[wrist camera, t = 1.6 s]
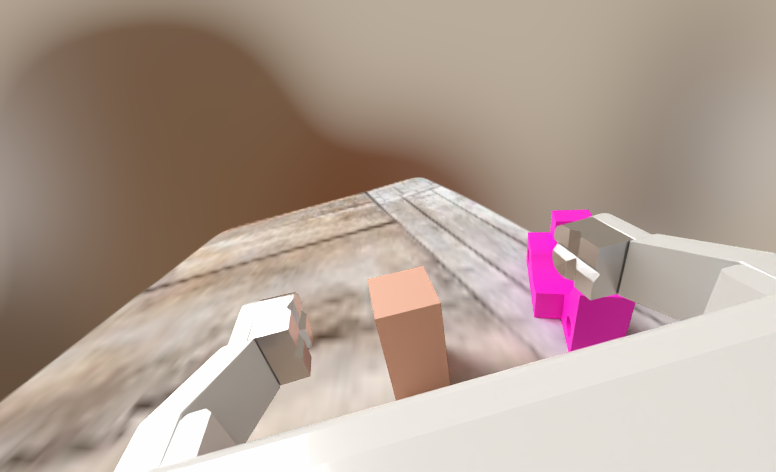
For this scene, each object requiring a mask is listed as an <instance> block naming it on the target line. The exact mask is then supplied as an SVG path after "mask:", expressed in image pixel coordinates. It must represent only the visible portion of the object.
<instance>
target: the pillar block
mask: <svg viewBox="0 0 776 472" xmlns="http://www.w3.org/2000/svg"><path fill="white" fill-rule="evenodd" d="M367 280H368V285H369V291H370V296H371V301H372V307H373V312H374V318H375V322H376V326H377V330H378V333H379V337H380V341H381V345H382V349H383V352H384V356H385V360H386V364H387V368H388V372H389V375H390V379H391V383H392V387H393V391H394V394H395V398H396V400H400V399H404V398H407V397H411V396H414V395H418V394H421V393H425V392H428V391H432V390H436V389H439V388H443V387H446V386H450V378H449V369H448V361H447V352H446V344H445V335H444V326H443V318H442V309H441V302H440V300H439V298H438V296H437V294H436V292H435V290H434V288H433V286H432V284H431V282H430V279H429V277H428V275H427V273H426V271H425V269H424V267H423V266H420V267H416V268H412V269H408V270H404V271H400V272H396V273H392V274H388V275H383V276H379V277H375V278H371V279H367Z"/></svg>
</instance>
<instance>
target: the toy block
mask: <svg viewBox="0 0 776 472" xmlns="http://www.w3.org/2000/svg"><path fill="white" fill-rule="evenodd" d="M591 216H592V215H591V213H590V211H589V210H558V211H552V219H551V220H552V221H551V229H550V230H551V231H550V232H545V233H544V232H539V233H528V243H527V260H526V261H527V268H528V275H529V282H530V289H531V297H532V304H533V311H534V317H537V318H551V319H561V322H562V326H563V330H564V335H565V339H566V343H567V348H568V352H571V351H574V350H578V349H582V348H585V347H589V346H592V345H596V344H599V343H603V342H607V341H610V340H614V339H617V338H621V337H625V336H626V334H627V330H628V327H629V323H630V320H631V316H632V313H633V309H634V306H635V302H634V301H631V300H629V299H626V298H624V297H621V296H619V295H618V294H615V295H611V296H607V297H602V298H598V299H594V300H589V299H588V298H587V297H586V296H584V295H583V294H582V293H581V292H580V291H579V290H578V289H576V288H575V287H574V281H572V280H569V279H566V278H564V277H563V276H562V275H560V274H559V273H558V271H557V270H556V268H555V266H554V263H553V260H552V256H553V249H554V248H555V246H556V245H557V244H558V243H557V241H556V240H555V239H554V232H555V229H556V227H557V226H559V225H563V224H567V223H571V222H574V221H578V220H582V219H586V218H588V217H591Z"/></svg>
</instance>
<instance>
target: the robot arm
mask: <svg viewBox="0 0 776 472" xmlns="http://www.w3.org/2000/svg"><path fill="white" fill-rule="evenodd" d="M554 239H555V240H556V241H557V243H558V244H557V245H556V246H555V248H554V249H553V256H552V260H553V263H554V266H555V268H556V270H557V271H558V273H559V274H560V275H562V276H563V277H564V278H566V279H569V280H572V281H574V287H575V288H576V289H578V290H579V291H580V292H581V293H582V294H583V295H584V296H586V297H587V298H588V299H589V300H594V299H598V298H602V297H607V296H611V295H615V294H618V295H619V296H621V297H624V298H626V299H629V300H631V301H634V302H636V303H638V304H641V305H643V306H646V307H648V308H651V309H653V310H656V311H658V312H661V313H663V314H665V315H668V316H670V317H673V318H675V319H678V320H680V321H678V322H674V323H671V324H667V325H664V326H660V327H657V328H653V329H650V330H646V331H642V332H639V333H635V334H632V335H628V336H625V337H621V338H617V339H614V340H610V341H607V342H603V343H599V344H596V345H592V346H589V347H585V348H582V349H578V350H574V351H571V352H567V353H564V354H560V355H557V356H553V357H549V358H546V359H542V360H539V361H535V362H532V363H528V364H525V365H521V366H517V367H514V368H510V369H507V370H503V371H500V372H496V373H493V374H489V375H485V376H482V377H478V378H475V379H471V380H468V381H464V382H460V383H457V384H453V385H450V386H446V387H443V388H439V389H436V390H432V391H428V392H425V393H421V394H418V395H414V396H411V397H407V398H404V399H400V400H396V401H393V402H389V403H386V404H382V405H379V406H375V407H372V408H368V409H364V410H361V411H357V412H354V413H350V414H347V415H343V416H339V417H336V418H332V419H329V420H325V421H322V422H318V423H315V424H311V425H307V426H304V427H300V428H297V429H293V430H290V431H286V432H282V433H279V434H275V435H272V436H268V437H265V438H261V439H258V440H254V441H250V442H247V443H246V441H247V440H248V438H249V436H250V435H251V433H252V432H253V430H254V428H255V427H256V425H257V424H258V422H259V420H260V419H261V417H262V416H263V414H264V412H265V411H266V409H267V408H268V406H269V404H270V403H271V401H272V400H273V398H274V396H275V395H276V393H277V392H278V390H279V388H280V385H283V384H286V383H290V382H293V381H296V380H300V379H303V378H306V377H310V371H311V355H310V353H309V350H308V349H309V348H310V347H311V345H312V330H311V325H310V321H309V318H308V316H307V314H306V313H304V312H303V311H301V307H302V302H301V299H300V297H299V295H298V294H297V293H296V292H293V293H289V294H285V295H280V296H276V297H272V298H267V299H263V300H259V301H255V302H251V303H247V304H245V305H243V306H242V308H241V310H240V313H239V316H238V319H237V321H236V324H235V327H234V329H233V332H232V335H231V337H230V340H229V343H228V345H227V346H225V347H222V348H221V349H219V350H218V351H217V352H216V353H215V354H214V355H213V356H212V357H211V358H210V359H209V360H208V361H207V362H206V363H205V364H204V365H202V366H201V367H200V368H199V369H198V370H197V371H196V372H195V373H194V374H193V375H192V376H191V377H190V378H189V379H188V380H187V381H186V382H184V383H183V384H182V385H181V386H180V387H179V388H178V389H177V390H176V391H175V392H174V393H173V394H172V395H171V396H170V397H169V398H167V399H166V400H165V401H164V402H163V403H162V404H161V405H160V406H159V407H158V408H157V409H156V410H155V411H154V412H153V413H152V414H150V415H149V416H148V417H147V418H146V419H145V420H144V421H143V422H142V423H141V424H140V425H139V426H138V428H137V430H136V432H135V434H134V435H133V437H132V439H131V441H130V443H129V445H128V447H127V448H126V450H125V452H124V454H123V456H122V458H121V460H120V462H119V463H118V465H117V467H116V469H115V471H114V472H776V253H771V252H765V251H759V250H752V249H747V248H741V247H735V246H728V245H722V244H716V243H710V242H704V241H698V240H692V239H686V238H680V237H674V236H668V235H662V234H655V235H651V234H649V233H647V232H645V231H643V230H641V229H639V228H637V227H635V226H633V225H631V224H629V223H627V222H625V221H623V220H621V219H619V218H617V217H615V216H613V215H611V214H608V213H602V214H598V215H595V216H591V217H588V218H586V219H582V220H578V221H574V222H571V223H567V224H563V225H559V226H557V227H556V229H555V232H554Z"/></svg>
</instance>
